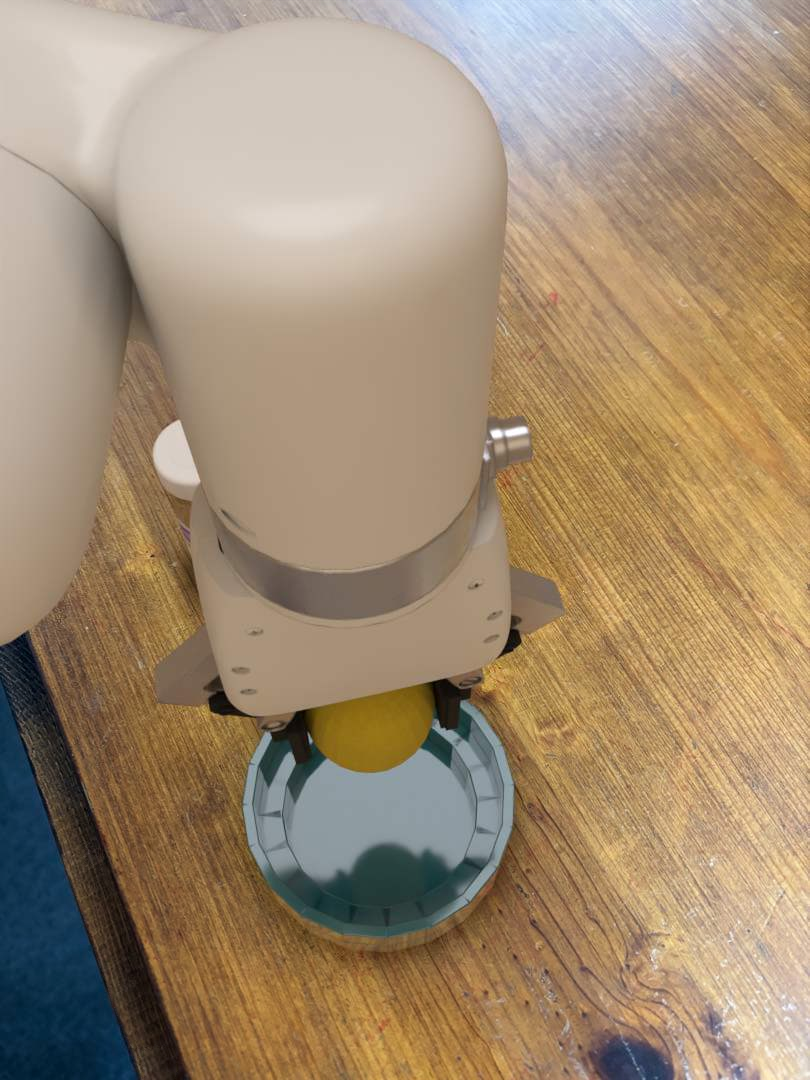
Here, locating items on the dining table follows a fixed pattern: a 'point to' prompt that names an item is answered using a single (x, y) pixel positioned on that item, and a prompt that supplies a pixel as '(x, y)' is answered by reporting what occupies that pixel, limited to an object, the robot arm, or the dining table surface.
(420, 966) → the dining table surface
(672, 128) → the dining table surface
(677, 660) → the dining table surface
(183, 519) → the sprinkles bottle
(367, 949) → the bowl
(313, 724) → the lemon
